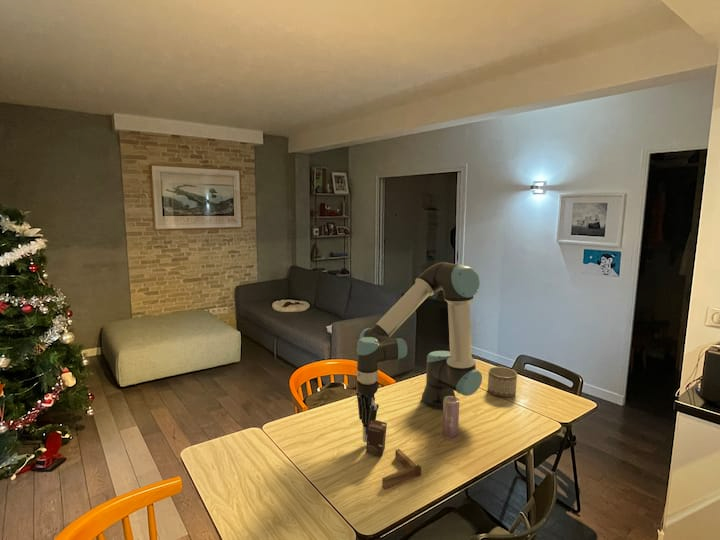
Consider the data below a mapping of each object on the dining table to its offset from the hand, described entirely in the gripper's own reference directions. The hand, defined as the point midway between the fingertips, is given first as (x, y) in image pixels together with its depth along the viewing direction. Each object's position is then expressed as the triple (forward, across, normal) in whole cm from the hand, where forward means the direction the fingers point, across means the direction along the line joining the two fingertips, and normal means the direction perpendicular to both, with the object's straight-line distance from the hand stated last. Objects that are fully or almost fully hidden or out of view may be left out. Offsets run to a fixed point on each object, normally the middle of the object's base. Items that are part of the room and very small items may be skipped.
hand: (366, 440), depth 150 cm
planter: (+2, -8, +77) cm, 78 cm away
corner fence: (+2, +18, 0) cm, 18 cm away
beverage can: (+2, +10, +31) cm, 33 cm away
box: (+1, +6, 0) cm, 6 cm away
